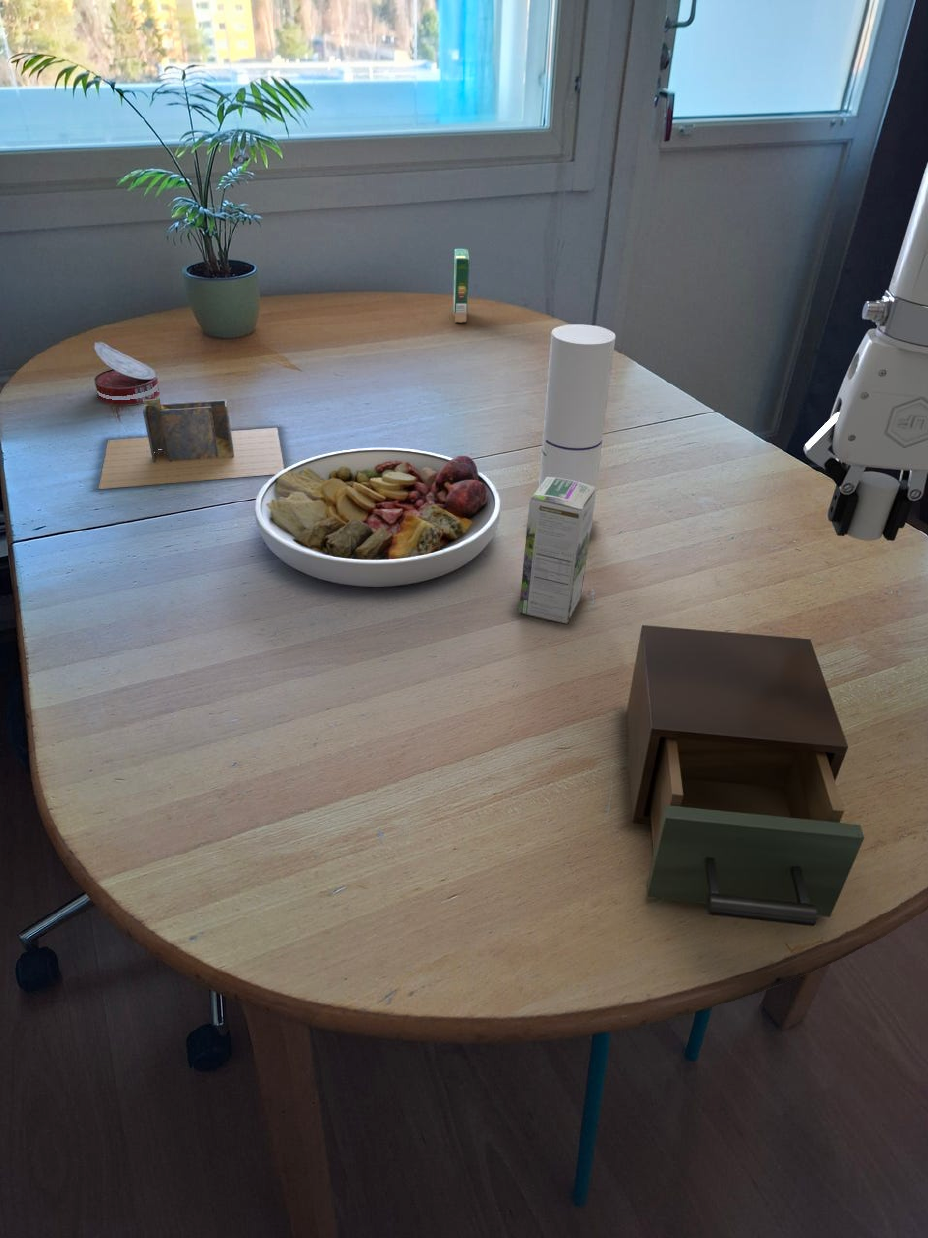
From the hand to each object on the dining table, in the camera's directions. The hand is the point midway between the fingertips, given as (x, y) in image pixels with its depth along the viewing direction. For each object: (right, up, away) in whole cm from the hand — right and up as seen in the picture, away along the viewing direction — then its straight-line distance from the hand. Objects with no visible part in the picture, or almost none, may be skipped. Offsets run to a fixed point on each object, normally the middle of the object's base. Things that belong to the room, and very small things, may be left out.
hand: (862, 528), depth 77 cm
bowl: (-46, +3, +33) cm, 57 cm away
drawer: (-15, -27, -9) cm, 32 cm away
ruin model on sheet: (-75, +16, +50) cm, 91 cm away
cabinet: (-13, -22, 0) cm, 25 cm away
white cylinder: (0, 0, 0) cm, 0 cm away
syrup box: (-26, -7, +21) cm, 34 cm away
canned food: (-91, +29, +69) cm, 118 cm away
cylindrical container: (-23, +4, +35) cm, 42 cm away
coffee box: (-36, +56, +108) cm, 127 cm away
